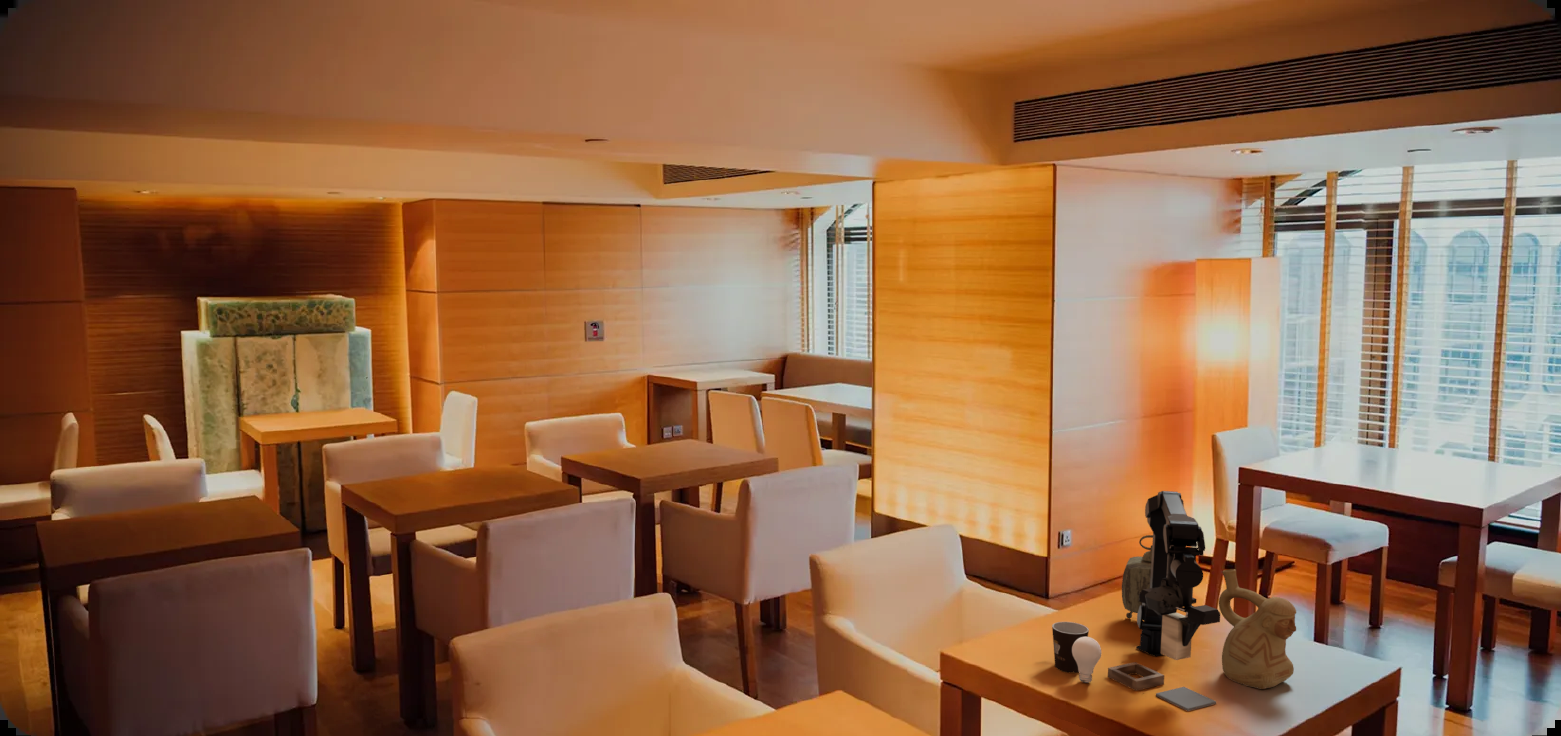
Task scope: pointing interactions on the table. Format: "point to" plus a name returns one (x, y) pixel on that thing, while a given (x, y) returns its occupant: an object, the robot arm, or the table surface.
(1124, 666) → the frame
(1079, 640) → the light bulb
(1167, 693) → the felt pad
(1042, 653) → the table surface
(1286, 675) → the ceramic vessel
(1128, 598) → the tabletop clock
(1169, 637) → the maple block
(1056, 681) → the table surface
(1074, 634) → the coffee mug
